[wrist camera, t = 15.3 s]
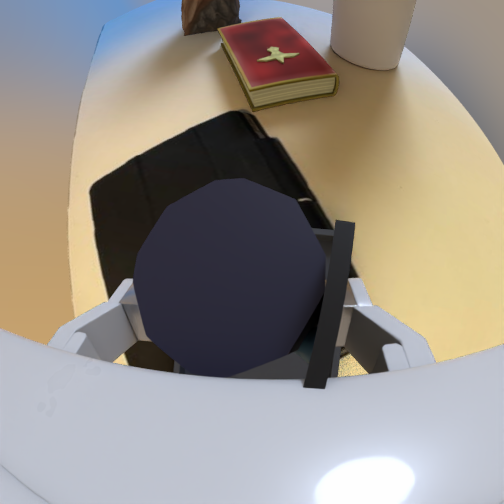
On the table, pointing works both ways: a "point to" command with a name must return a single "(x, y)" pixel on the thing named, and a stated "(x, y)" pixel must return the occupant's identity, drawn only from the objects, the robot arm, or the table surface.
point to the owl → (208, 15)
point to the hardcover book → (276, 64)
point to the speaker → (241, 282)
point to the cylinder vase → (371, 31)
